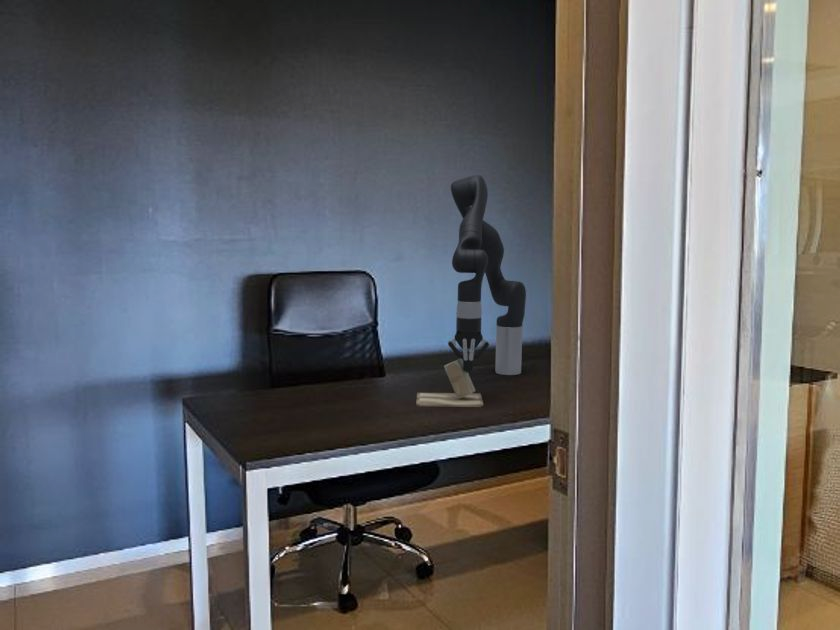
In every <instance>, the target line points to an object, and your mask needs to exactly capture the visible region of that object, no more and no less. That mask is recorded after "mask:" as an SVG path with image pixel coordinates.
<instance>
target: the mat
mask: <svg viewBox="0 0 840 630" xmlns="http://www.w3.org/2000/svg"><path fill="white" fill-rule="evenodd" d="M415 403H416V404H415V405H416V406H415V407H439V408H440V407H444V408H447V407H448V408H449V407H450V408H453V407H454V408H457V407H458V408H484V401H483V397H482V394H481V393H480V392H479V393H476V392H473V393H472V394H469V395H467V396H464V397H462V398H459V399H458V398H457V396H456V394H455V392H417V393H416V402H415Z"/></svg>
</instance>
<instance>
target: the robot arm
mask: <svg viewBox="0 0 840 630" xmlns="http://www.w3.org/2000/svg"><path fill="white" fill-rule="evenodd" d="M488 191H489V190H488V186H487V183H486V180H485V179H484V178H483V176H482V175H479V174H475V175H471V176H468V177H464V178H460V179H456V180H454V181H453V182H452V183H451V185H450V192H451V195H452V198H453V201H454V203H455V205H456V208H457V209H458V212H459V213H460V215H461V217H462V219H461V221H460V224H459V229H458V243H457V246H456V249H455V251H454V252H453V255H452V260H451V265H452V268H453V270H454V271H455V272H457V273H460V274H475V275H474V277H472V278H471V279H468V280H462V281H460V282H458V284H457V304H456V321H455V322H456V327H455V329H456V330H455V334H454V337H453V339H451V340H448V341H447V344H448V347H449V348H450V349H451V350H452V352H453V353H454V355H456V357H457V358H458V359H462V360H463V369H464V371H465V372H467V373H468V374H469V373H470V374H471V372H472V371H473V366H474V360H476V359H479V358H480V357H481V356H482V354H484V352H486V350H487V349H488V348H489V346H490V343H489V341H488V340H485V339H484V338H483V335H482V313H483V312H482V285H483V279H484V275H485V277H486V280H487V283H488V287H489V291H490V294H491V297H492V299H493V301H494V303H495V304H497V305H498V306H502V307H507V308H508V309H507V312H506V313H505V314H503V315H500V316H497V318H496V325H495V327H496V331H495V332H496V333H495V334H496V335H495V369H494V370H495V371H494V372H495V374H497V375H502V376H516V375H520V374H521V373H522V360H523V359H522V355H523V354H522V352H523V350H522V349H523V347H522V346H523V322H524V318H525V315H526V312H525V311H526V310H525V309H526V299H527V291H526V287H525V284H524V283H523V282H521V281H516V280H507V279H505V277H504V275H503V272H502V269H501V266H502V262H503V259H504V254H505V247H504V244H503V241H502V239H501V236H500V234H499V232H498V230H497V229H496V228H495V227H494V226H492V225H491V224H490V223H488V222H487V221H486V220H484V215H485V213H486V212H485V211H486V207H487V202H488V193H489V192H488ZM457 344H458V345H459V347H460V348H461V349H462V353H461V352H460V350H459V348H457ZM479 345H480V348H478V350H477V351H476V352H475V349H476V348H477V347H478V346H479ZM468 350H469V351H468Z"/></svg>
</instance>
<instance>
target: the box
mask: <svg viewBox="0 0 840 630" xmlns="http://www.w3.org/2000/svg"><path fill="white" fill-rule="evenodd" d="M443 367H444V370H445V372H446V375H447V377H448V380H449V382H450V384H451V386H452V389H453V391H454V393H455V394H456V396H457V398H458V399H459V398H462V397H464V396H467V395H469V394H472V393H476V388H475V385H474V384H473V381H472V379H471V377H470V374H469V372H468V373H467V372H465V371H464V369H463V359H460V358H458V359H456V360H454V361H451V362H449V363H447V364H445V365H444V366H443Z"/></svg>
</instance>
